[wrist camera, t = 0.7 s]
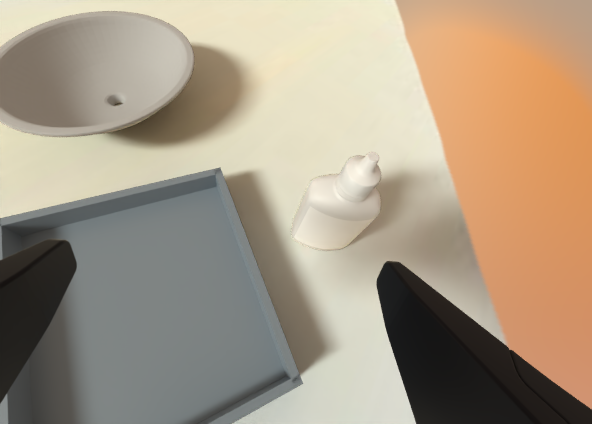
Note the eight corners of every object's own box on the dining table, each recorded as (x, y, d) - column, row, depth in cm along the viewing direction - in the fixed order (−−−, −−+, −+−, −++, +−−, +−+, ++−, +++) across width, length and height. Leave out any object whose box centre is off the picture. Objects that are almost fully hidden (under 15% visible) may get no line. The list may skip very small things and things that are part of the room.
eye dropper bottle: (331, 269, 25) (400, 210, 15) (282, 233, 26) (314, 151, 15) (353, 234, 27) (427, 161, 17) (307, 202, 28) (350, 111, 17)
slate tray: (295, 379, 21) (302, 383, 18) (35, 522, 15) (-4, 555, 13) (221, 184, 27) (220, 167, 24) (18, 235, 21) (-10, 220, 19)
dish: (97, 204, 24) (66, 170, 19) (-21, 117, 25) (-75, 67, 21) (229, 99, 32) (228, 60, 28) (135, 39, 33) (120, -8, 29)
